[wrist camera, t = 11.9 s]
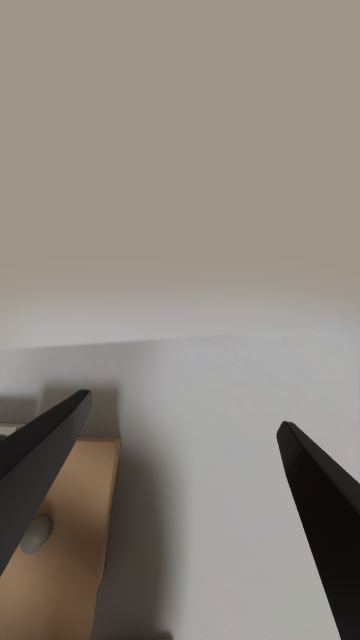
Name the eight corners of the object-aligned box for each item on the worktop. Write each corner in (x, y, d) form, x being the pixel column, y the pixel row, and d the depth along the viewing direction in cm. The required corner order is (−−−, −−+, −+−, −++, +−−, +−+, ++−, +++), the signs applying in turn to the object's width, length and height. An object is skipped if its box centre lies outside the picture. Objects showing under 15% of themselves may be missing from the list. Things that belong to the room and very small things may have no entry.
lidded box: (106, 583, 16) (81, 664, 11) (-6, 584, 15) (-84, 670, 11) (125, 433, 20) (113, 444, 15) (37, 430, 20) (-4, 441, 15)
